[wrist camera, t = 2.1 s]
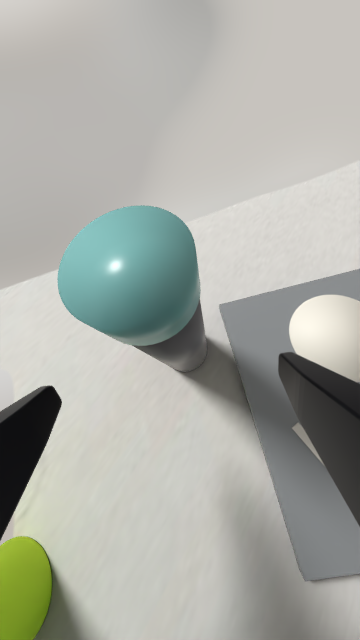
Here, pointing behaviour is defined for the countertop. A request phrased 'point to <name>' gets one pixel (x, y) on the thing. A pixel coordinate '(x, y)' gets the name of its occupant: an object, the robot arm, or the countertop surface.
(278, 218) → the countertop surface
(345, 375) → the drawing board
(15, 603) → the soap dispenser
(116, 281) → the marker
